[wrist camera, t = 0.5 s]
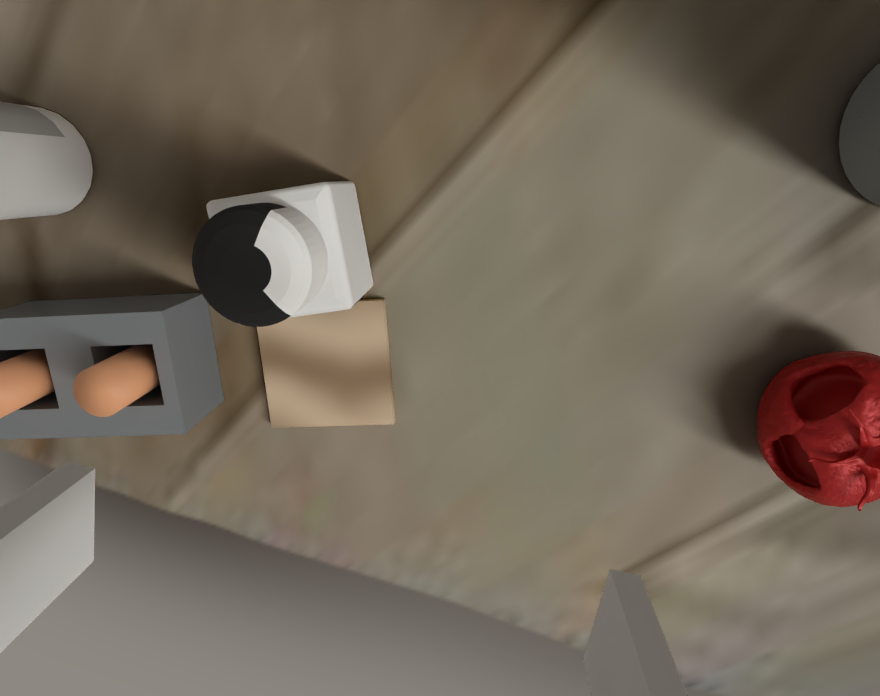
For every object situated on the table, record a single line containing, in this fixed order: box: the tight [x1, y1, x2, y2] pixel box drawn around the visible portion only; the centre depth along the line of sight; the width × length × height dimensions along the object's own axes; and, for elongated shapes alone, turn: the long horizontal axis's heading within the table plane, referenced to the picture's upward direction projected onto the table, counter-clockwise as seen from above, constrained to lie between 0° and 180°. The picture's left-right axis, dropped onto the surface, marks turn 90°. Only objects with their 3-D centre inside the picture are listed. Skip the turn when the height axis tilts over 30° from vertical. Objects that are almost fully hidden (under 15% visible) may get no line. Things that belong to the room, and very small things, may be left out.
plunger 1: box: [0, 349, 55, 418], centre depth 38 cm, size 3×3×6 cm
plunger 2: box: [73, 344, 160, 417], centre depth 37 cm, size 3×3×6 cm
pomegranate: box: [757, 351, 880, 511], centre depth 37 cm, size 10×10×9 cm
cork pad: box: [257, 299, 395, 428], centre depth 43 cm, size 9×9×1 cm
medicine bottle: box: [192, 181, 373, 327], centre depth 35 cm, size 7×7×12 cm
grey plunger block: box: [0, 293, 224, 439], centre depth 41 cm, size 8×13×6 cm, turn 93°
